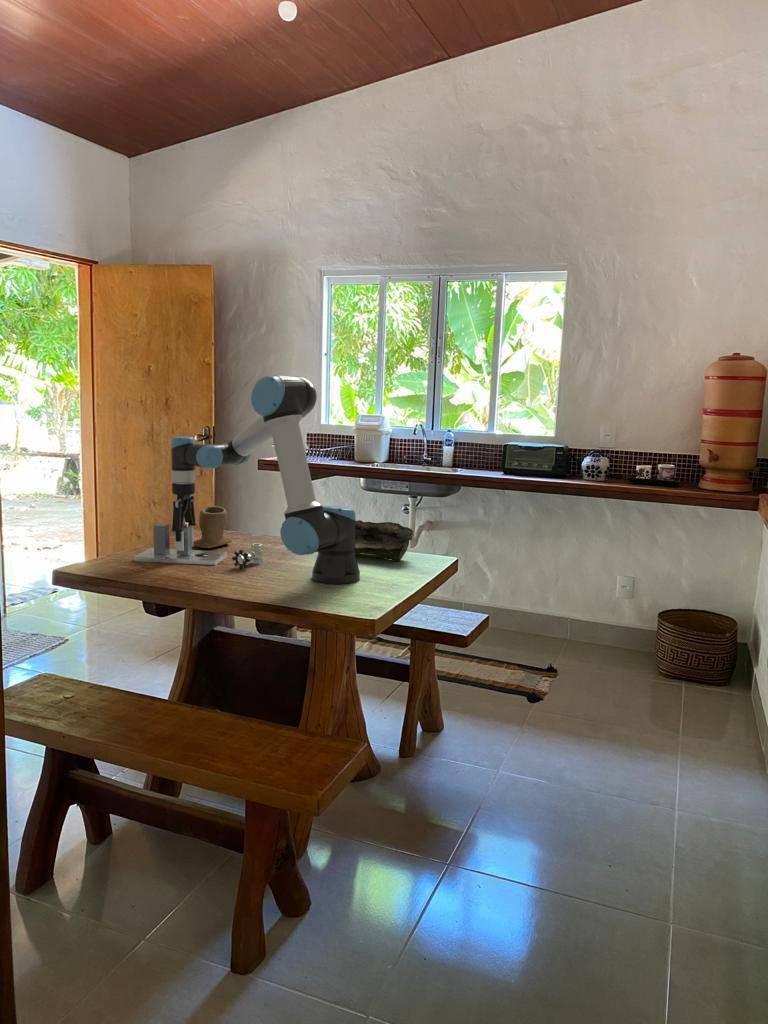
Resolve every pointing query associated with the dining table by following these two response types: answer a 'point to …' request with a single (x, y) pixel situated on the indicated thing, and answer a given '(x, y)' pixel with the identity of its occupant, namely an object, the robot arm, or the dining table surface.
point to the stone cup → (212, 527)
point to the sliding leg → (186, 539)
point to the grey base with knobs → (168, 555)
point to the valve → (249, 556)
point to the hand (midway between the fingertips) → (184, 547)
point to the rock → (382, 539)
